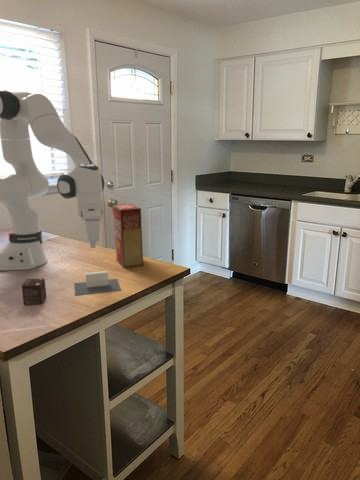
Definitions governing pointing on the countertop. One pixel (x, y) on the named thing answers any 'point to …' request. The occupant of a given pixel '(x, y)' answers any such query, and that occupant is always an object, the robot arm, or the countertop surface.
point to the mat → (96, 288)
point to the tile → (97, 279)
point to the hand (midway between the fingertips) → (92, 247)
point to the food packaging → (128, 235)
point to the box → (34, 291)
